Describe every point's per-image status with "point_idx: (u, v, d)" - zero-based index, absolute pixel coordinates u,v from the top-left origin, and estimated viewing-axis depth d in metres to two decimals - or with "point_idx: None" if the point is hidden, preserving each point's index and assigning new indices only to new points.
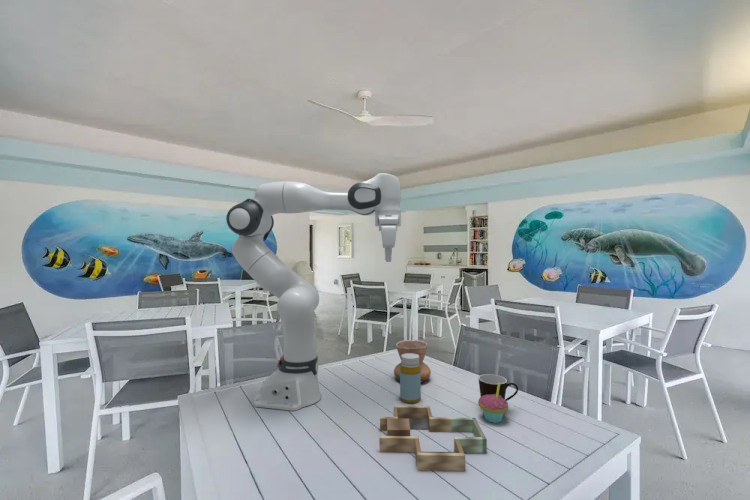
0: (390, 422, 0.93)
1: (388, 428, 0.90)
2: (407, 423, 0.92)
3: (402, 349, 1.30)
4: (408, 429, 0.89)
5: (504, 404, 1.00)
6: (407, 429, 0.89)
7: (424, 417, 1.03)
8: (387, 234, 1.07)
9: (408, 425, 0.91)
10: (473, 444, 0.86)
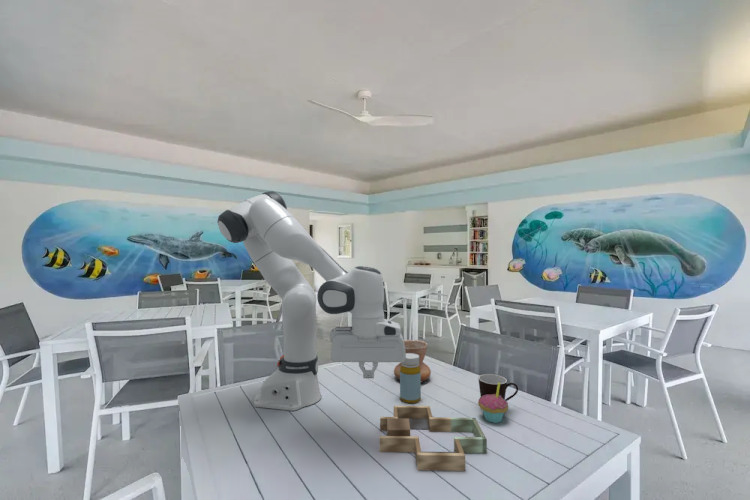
0: (390, 422, 0.93)
1: (388, 428, 0.89)
2: (407, 423, 0.92)
3: None
4: (408, 429, 0.89)
5: (504, 404, 1.00)
6: (407, 429, 0.89)
7: (424, 417, 1.03)
8: (404, 345, 0.91)
9: (408, 425, 0.91)
10: (473, 444, 0.86)
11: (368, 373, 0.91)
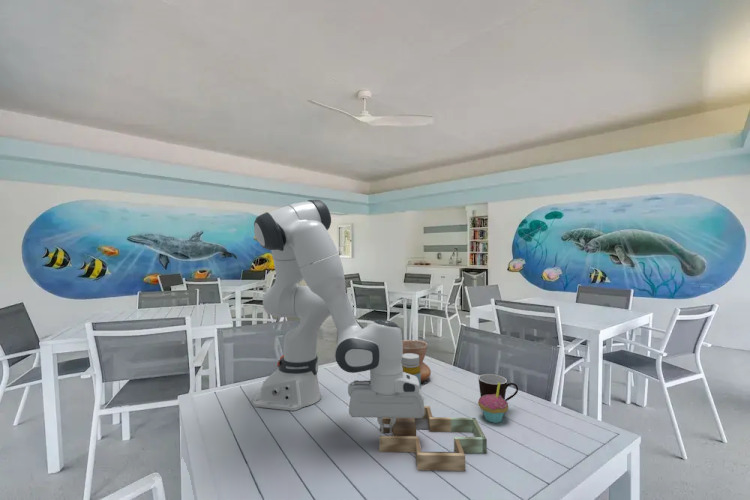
0: (396, 421, 0.93)
1: (394, 427, 0.89)
2: (412, 422, 0.92)
3: None
4: (414, 428, 0.89)
5: (504, 404, 1.00)
6: (413, 428, 0.89)
7: (424, 417, 1.03)
8: None
9: (414, 424, 0.91)
10: (473, 444, 0.86)
11: (386, 428, 0.91)
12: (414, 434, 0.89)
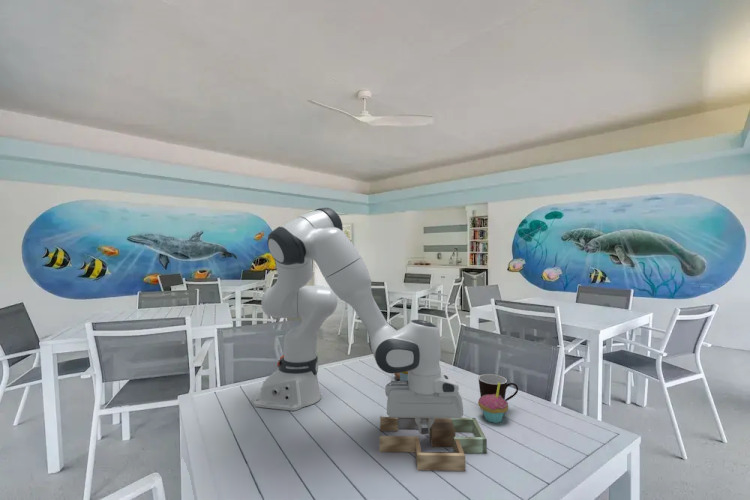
0: None
1: (433, 428, 0.89)
2: (450, 423, 0.92)
3: None
4: (453, 429, 0.88)
5: (504, 404, 1.00)
6: (452, 429, 0.89)
7: None
8: None
9: (452, 425, 0.90)
10: (473, 444, 0.86)
11: (425, 429, 0.90)
12: (453, 435, 0.88)
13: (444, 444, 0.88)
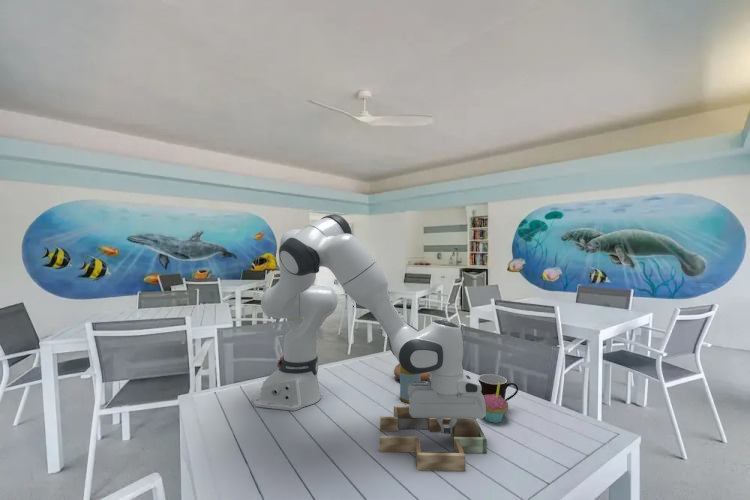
0: None
1: (456, 428, 0.89)
2: (473, 423, 0.92)
3: None
4: (476, 429, 0.89)
5: (504, 404, 1.00)
6: (475, 429, 0.89)
7: None
8: None
9: (475, 425, 0.91)
10: (473, 444, 0.86)
11: (447, 429, 0.90)
12: (476, 435, 0.88)
13: None
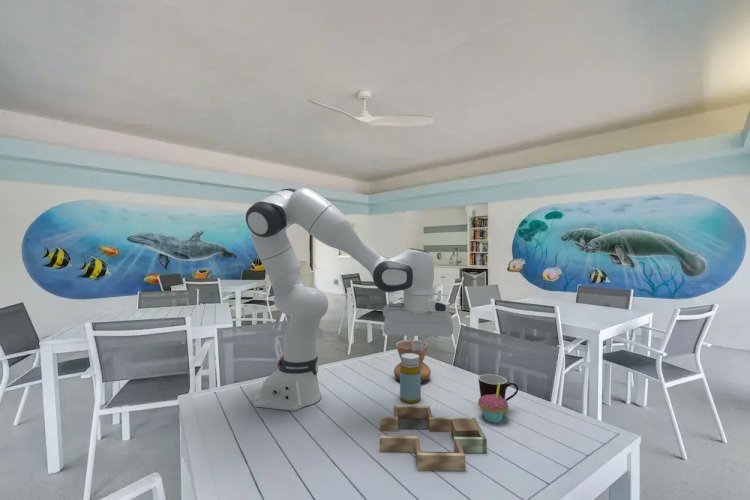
0: (456, 422, 0.92)
1: (456, 429, 0.89)
2: (473, 423, 0.92)
3: (402, 349, 1.30)
4: (477, 430, 0.89)
5: (504, 404, 1.00)
6: (475, 429, 0.89)
7: (424, 417, 1.03)
8: None
9: (475, 426, 0.91)
10: (473, 444, 0.86)
11: (418, 346, 0.99)
12: (477, 435, 0.88)
13: None
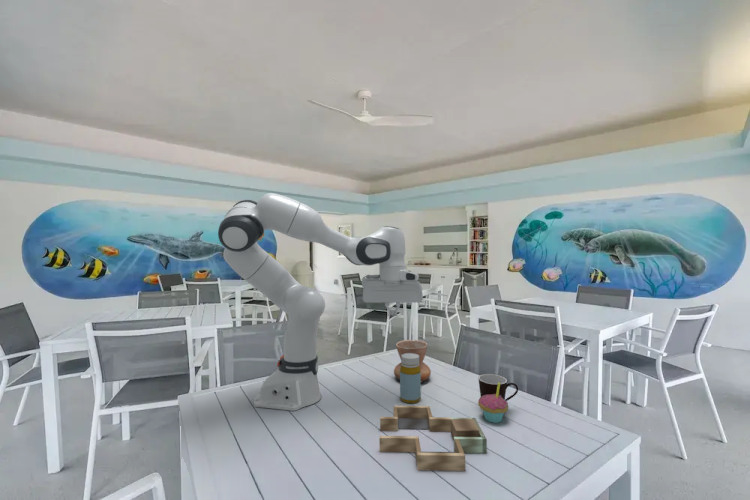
0: (455, 422, 0.92)
1: (456, 429, 0.89)
2: (472, 423, 0.92)
3: (402, 349, 1.30)
4: (477, 429, 0.89)
5: (504, 404, 1.00)
6: (475, 429, 0.89)
7: (424, 417, 1.03)
8: None
9: (475, 425, 0.91)
10: (473, 444, 0.86)
11: (392, 311, 1.14)
12: (477, 435, 0.88)
13: None
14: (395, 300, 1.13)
